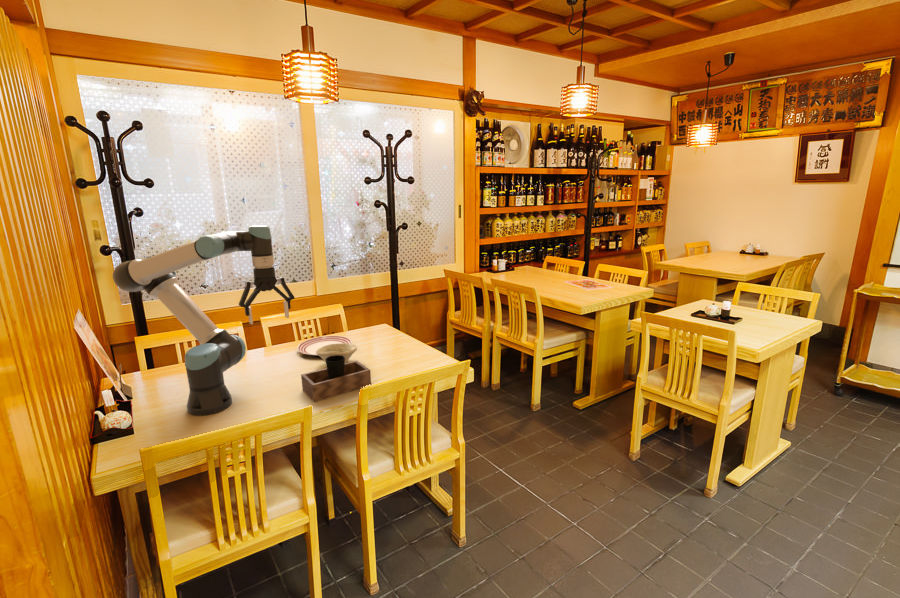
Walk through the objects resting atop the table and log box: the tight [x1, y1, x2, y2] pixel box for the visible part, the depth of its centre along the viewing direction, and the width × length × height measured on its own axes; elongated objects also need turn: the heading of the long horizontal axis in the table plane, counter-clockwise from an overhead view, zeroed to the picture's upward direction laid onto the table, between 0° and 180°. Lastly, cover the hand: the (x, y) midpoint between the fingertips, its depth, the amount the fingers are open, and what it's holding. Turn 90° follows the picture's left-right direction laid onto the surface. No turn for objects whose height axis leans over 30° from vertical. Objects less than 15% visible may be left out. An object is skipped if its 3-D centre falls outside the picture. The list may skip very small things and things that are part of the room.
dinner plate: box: [296, 335, 353, 357], centre depth 230 cm, size 27×27×3 cm
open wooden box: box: [300, 360, 372, 403], centre depth 184 cm, size 24×13×7 cm, turn 127°
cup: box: [325, 355, 345, 380], centre depth 184 cm, size 8×8×12 cm
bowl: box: [316, 343, 357, 363], centre depth 210 cm, size 14×18×15 cm
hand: (269, 320), depth 174 cm, fingers open, 13 cm apart
